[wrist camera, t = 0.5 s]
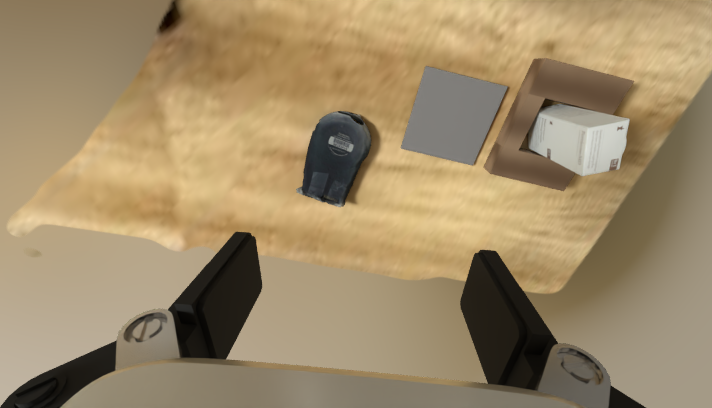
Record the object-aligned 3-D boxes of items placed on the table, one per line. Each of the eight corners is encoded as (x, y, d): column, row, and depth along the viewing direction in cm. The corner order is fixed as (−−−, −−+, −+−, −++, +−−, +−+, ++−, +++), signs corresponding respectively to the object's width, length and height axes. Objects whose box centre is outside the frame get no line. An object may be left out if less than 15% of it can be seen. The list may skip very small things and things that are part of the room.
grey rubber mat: (425, 66, 38) (426, 66, 38) (506, 86, 39) (507, 86, 38) (400, 147, 44) (401, 148, 43) (471, 164, 44) (472, 165, 44)
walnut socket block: (533, 59, 37) (546, 58, 34) (615, 80, 37) (634, 81, 35) (483, 167, 44) (490, 173, 41) (552, 183, 45) (563, 191, 42)
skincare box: (528, 110, 40) (585, 126, 29) (561, 102, 39) (632, 115, 28) (527, 150, 42) (579, 178, 32) (558, 143, 42) (622, 170, 31)
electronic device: (351, 198, 50) (380, 122, 42) (343, 214, 46) (373, 133, 37) (305, 178, 50) (325, 100, 42) (292, 193, 46) (311, 108, 37)
